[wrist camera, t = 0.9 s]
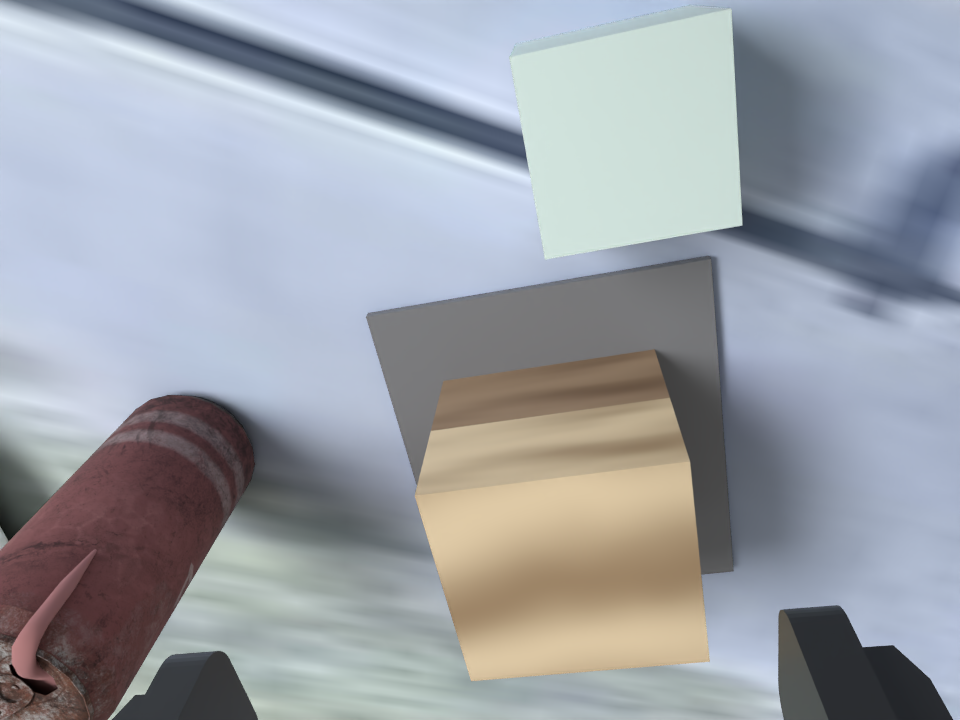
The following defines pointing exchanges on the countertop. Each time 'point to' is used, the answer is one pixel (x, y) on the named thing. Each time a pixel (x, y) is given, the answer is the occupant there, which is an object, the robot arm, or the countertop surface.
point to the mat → (575, 359)
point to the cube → (631, 129)
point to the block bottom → (550, 390)
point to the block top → (567, 541)
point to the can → (114, 558)
